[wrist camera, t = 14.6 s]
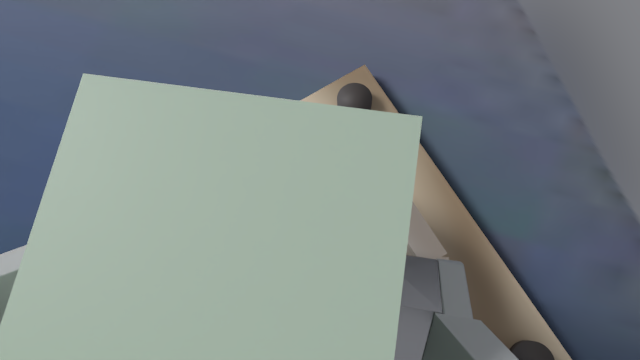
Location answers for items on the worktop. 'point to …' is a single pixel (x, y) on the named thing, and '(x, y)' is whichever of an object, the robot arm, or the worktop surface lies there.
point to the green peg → (216, 230)
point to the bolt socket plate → (456, 237)
